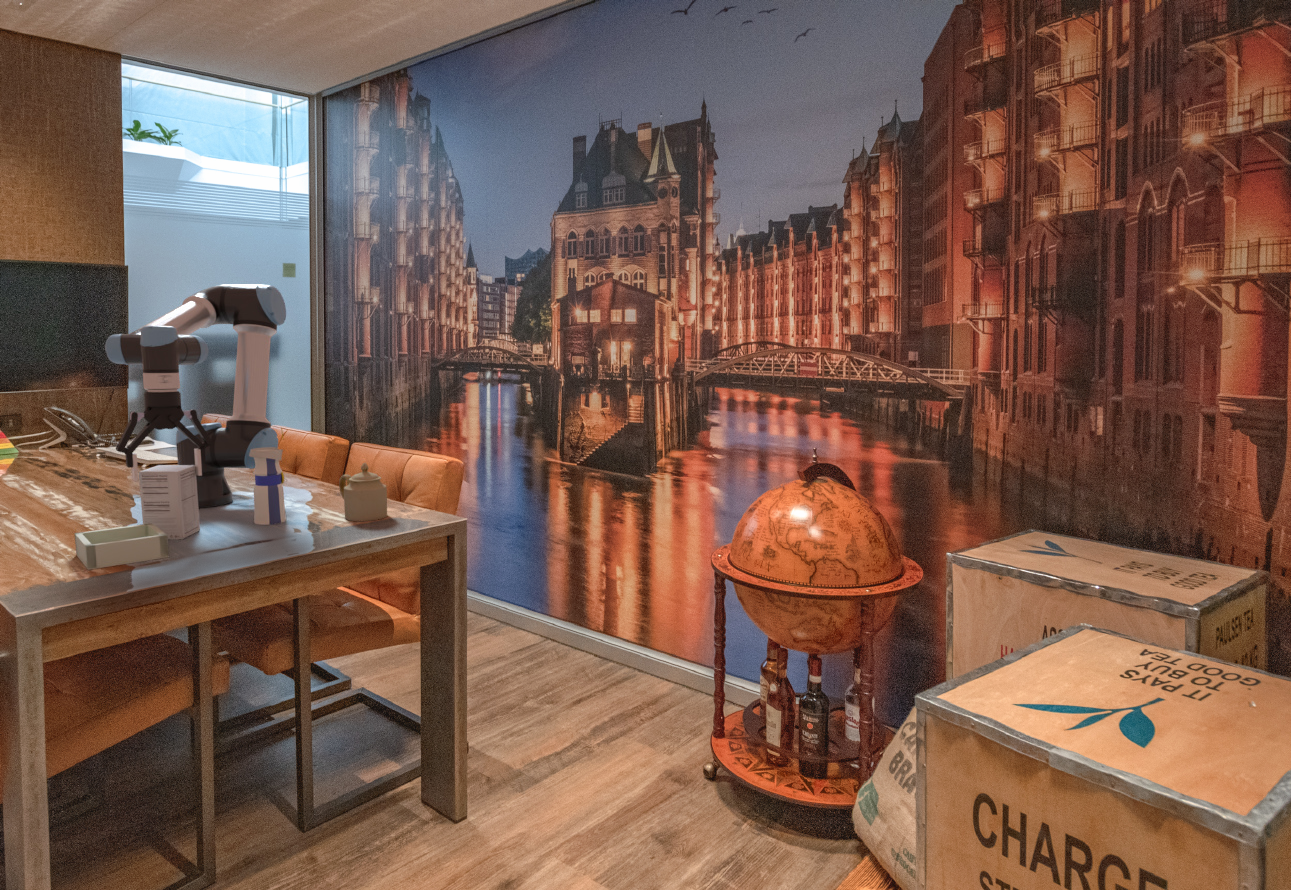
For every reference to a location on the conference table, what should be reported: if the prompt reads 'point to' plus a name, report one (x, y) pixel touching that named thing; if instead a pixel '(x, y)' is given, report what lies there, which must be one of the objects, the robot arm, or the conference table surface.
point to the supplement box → (170, 499)
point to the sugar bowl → (363, 496)
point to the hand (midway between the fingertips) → (167, 478)
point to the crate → (121, 545)
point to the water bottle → (268, 486)
